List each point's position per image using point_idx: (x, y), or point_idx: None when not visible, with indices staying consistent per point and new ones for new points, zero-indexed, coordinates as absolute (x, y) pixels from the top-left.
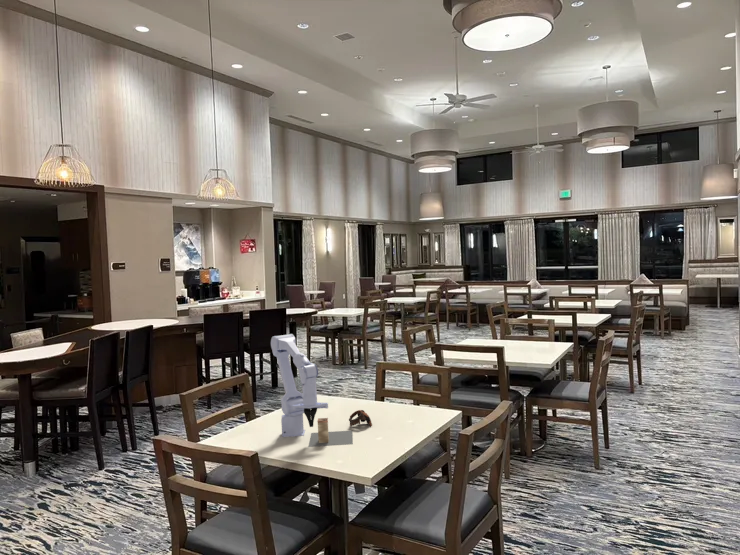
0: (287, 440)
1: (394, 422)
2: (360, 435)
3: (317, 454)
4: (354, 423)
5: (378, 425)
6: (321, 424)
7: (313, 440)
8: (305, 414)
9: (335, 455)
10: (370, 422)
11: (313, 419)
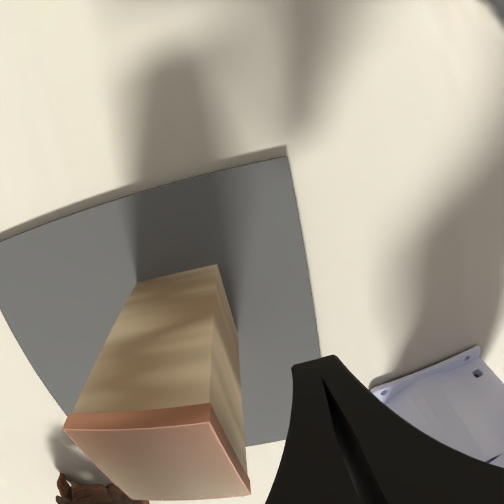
0: (457, 310)
1: (22, 482)
2: (30, 400)
3: (152, 10)
4: (99, 489)
5: (47, 477)
6: (153, 388)
7: (282, 316)
8: (489, 468)
9: (20, 32)
10: (58, 488)
11: (291, 445)
